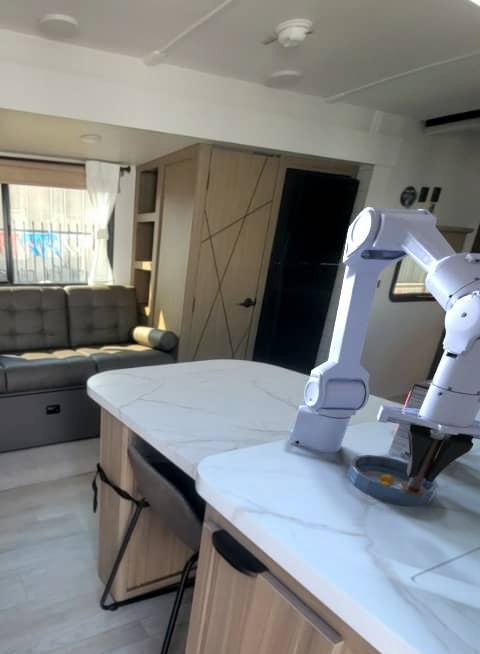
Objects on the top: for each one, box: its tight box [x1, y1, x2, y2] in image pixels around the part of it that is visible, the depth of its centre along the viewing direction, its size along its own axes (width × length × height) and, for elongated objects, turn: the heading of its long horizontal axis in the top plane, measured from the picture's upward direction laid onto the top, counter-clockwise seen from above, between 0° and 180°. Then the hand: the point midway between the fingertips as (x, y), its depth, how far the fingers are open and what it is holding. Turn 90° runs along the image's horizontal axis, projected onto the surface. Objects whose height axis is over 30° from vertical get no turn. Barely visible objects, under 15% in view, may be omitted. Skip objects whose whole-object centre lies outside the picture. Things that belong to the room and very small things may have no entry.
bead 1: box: [379, 474, 395, 485], centre depth 71 cm, size 2×2×2 cm
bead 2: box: [379, 481, 392, 487], centre depth 69 cm, size 2×2×2 cm
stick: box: [398, 435, 443, 498], centre depth 58 cm, size 3×3×9 cm
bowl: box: [346, 454, 439, 508], centre depth 70 cm, size 12×12×4 cm
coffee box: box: [387, 378, 441, 461], centre depth 78 cm, size 9×6×16 cm
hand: (418, 476), depth 59 cm, fingers closed on stick
